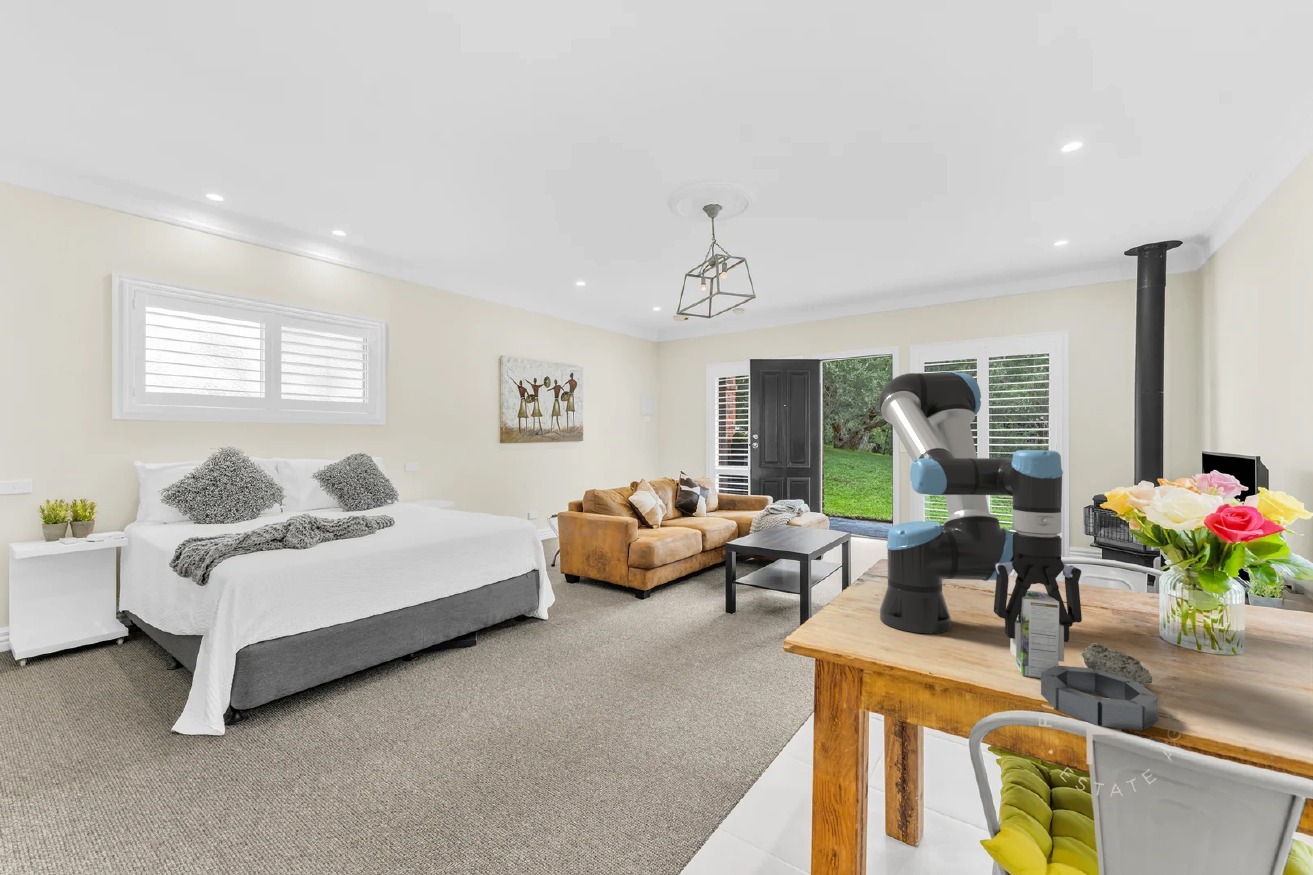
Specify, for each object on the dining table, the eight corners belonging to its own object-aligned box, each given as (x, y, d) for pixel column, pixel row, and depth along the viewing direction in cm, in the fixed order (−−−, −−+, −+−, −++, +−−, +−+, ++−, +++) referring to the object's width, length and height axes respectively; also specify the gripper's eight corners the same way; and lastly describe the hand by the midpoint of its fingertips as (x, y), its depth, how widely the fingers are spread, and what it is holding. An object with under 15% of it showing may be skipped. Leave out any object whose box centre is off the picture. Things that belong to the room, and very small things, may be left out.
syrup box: (1014, 663, 107) (1014, 589, 106) (1051, 668, 104) (1050, 592, 104) (1021, 676, 101) (1021, 597, 101) (1060, 681, 99) (1060, 600, 99)
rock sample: (1087, 668, 95) (1102, 628, 99) (1068, 681, 101) (1082, 642, 105) (1159, 708, 90) (1172, 664, 94) (1134, 719, 96) (1147, 677, 100)
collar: (1069, 723, 85) (1069, 700, 85) (1029, 682, 99) (1029, 663, 99) (1177, 733, 82) (1177, 710, 82) (1121, 690, 95) (1121, 670, 95)
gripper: (986, 535, 101) (986, 660, 101) (1108, 539, 97) (1107, 670, 97) (972, 527, 108) (972, 644, 109) (1085, 531, 104) (1085, 653, 104)
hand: (1036, 656), depth 103 cm, fingers closed on syrup box, 6 cm apart
